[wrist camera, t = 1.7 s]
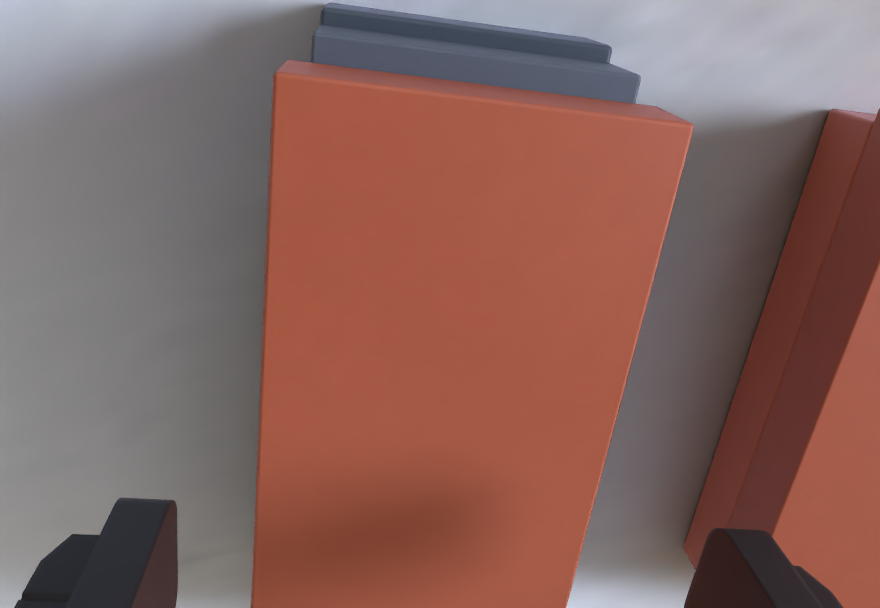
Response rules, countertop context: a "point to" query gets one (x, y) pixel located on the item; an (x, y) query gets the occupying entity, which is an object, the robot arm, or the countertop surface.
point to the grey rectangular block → (469, 53)
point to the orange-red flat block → (814, 383)
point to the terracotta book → (446, 333)
